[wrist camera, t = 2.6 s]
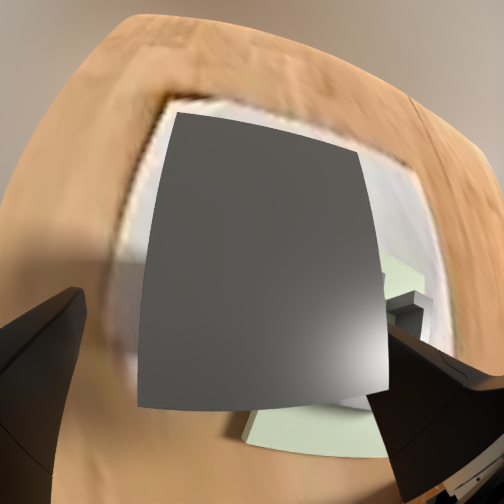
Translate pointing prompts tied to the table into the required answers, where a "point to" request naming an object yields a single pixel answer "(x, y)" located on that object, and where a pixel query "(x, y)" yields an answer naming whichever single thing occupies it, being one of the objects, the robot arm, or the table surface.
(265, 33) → the table surface
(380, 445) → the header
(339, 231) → the plug
